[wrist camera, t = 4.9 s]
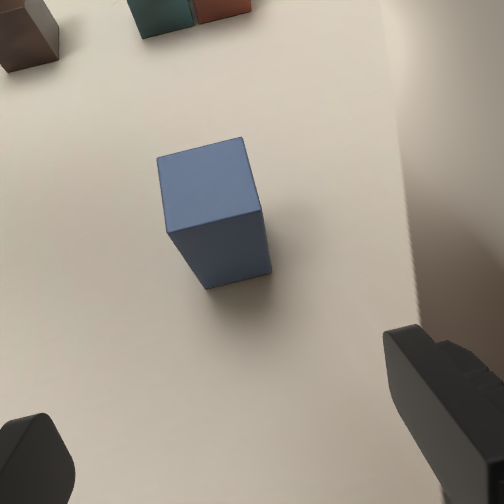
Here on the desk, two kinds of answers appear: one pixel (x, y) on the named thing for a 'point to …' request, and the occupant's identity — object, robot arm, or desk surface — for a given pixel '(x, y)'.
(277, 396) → the desk surface
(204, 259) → the blue block
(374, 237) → the desk surface
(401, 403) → the robot arm
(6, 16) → the block row
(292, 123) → the desk surface
